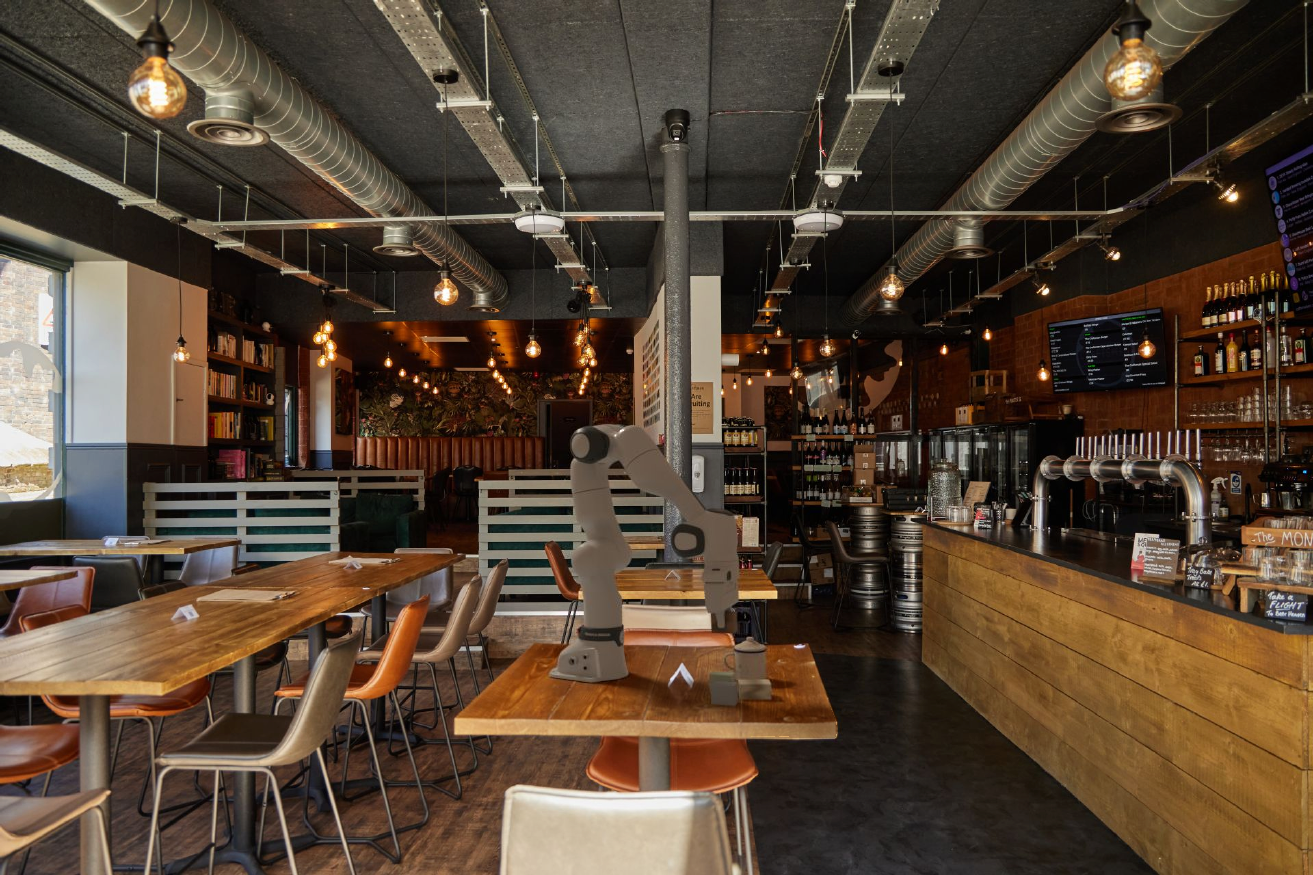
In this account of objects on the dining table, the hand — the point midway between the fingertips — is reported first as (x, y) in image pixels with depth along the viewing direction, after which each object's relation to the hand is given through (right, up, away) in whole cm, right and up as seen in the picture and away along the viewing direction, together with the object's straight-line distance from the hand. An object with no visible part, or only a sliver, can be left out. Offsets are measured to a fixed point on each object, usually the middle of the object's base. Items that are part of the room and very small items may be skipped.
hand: (724, 625), depth 220 cm
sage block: (0, -19, +5) cm, 19 cm away
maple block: (+8, -19, 0) cm, 20 cm away
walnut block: (0, -2, 0) cm, 2 cm away
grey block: (0, -18, -6) cm, 19 cm away
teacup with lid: (+7, -19, +18) cm, 27 cm away
